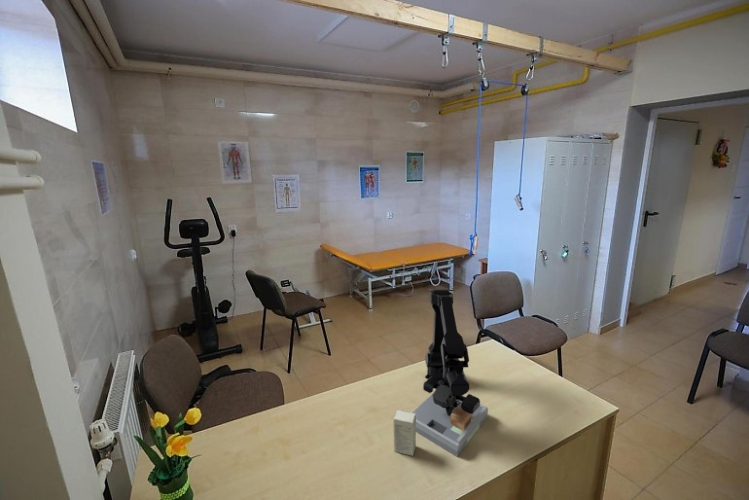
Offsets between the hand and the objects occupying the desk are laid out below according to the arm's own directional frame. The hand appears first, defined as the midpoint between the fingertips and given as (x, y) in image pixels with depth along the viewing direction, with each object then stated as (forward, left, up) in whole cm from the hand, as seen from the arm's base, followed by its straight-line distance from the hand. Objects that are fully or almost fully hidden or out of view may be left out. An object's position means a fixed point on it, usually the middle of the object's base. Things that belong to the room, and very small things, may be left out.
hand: (449, 415), depth 118 cm
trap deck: (-1, 0, -3) cm, 3 cm away
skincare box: (-5, -19, -3) cm, 20 cm away
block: (+4, 0, -1) cm, 4 cm away
